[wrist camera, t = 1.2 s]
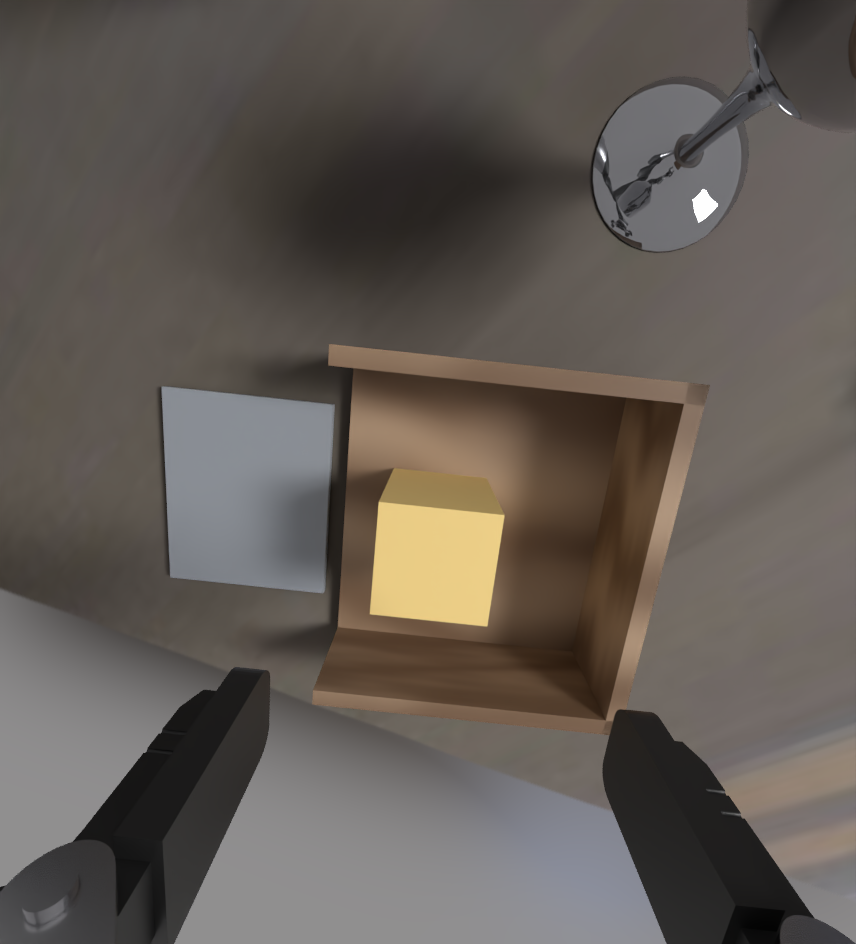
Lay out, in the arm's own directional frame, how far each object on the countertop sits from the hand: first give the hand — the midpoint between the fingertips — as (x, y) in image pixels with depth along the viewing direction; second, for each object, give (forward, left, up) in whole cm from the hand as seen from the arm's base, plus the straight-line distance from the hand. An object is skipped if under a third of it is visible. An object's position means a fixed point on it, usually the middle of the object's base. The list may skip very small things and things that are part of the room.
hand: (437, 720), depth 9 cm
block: (0, 0, -14) cm, 14 cm away
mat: (0, -11, -14) cm, 18 cm away
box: (0, +2, -14) cm, 14 cm away
